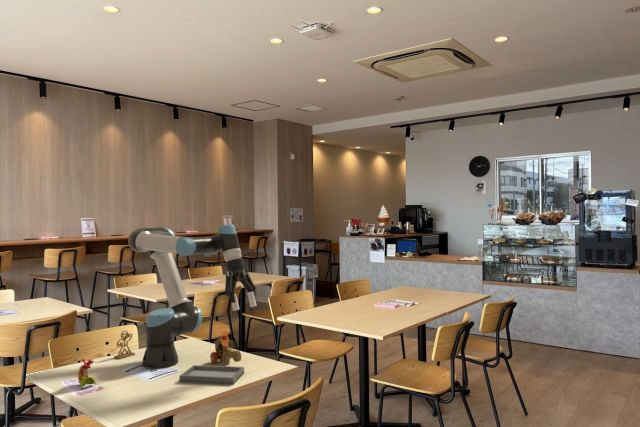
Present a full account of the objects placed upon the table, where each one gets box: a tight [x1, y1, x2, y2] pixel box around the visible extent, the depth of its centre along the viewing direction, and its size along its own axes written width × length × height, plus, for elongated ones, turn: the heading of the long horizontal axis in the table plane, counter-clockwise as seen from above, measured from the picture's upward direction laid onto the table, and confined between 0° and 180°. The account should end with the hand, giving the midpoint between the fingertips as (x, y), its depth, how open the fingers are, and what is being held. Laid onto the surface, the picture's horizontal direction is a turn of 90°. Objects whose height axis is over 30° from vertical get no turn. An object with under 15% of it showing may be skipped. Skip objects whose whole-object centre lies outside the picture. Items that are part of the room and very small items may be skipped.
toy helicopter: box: [209, 330, 242, 366], centre depth 213 cm, size 8×21×14 cm, turn 39°
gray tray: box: [179, 364, 245, 386], centre depth 196 cm, size 22×14×2 cm, turn 82°
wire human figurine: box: [113, 330, 136, 360], centre depth 227 cm, size 9×4×12 cm, turn 149°
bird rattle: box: [77, 357, 97, 388], centre depth 188 cm, size 6×11×9 cm
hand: (245, 308), depth 205 cm, fingers open, 13 cm apart
